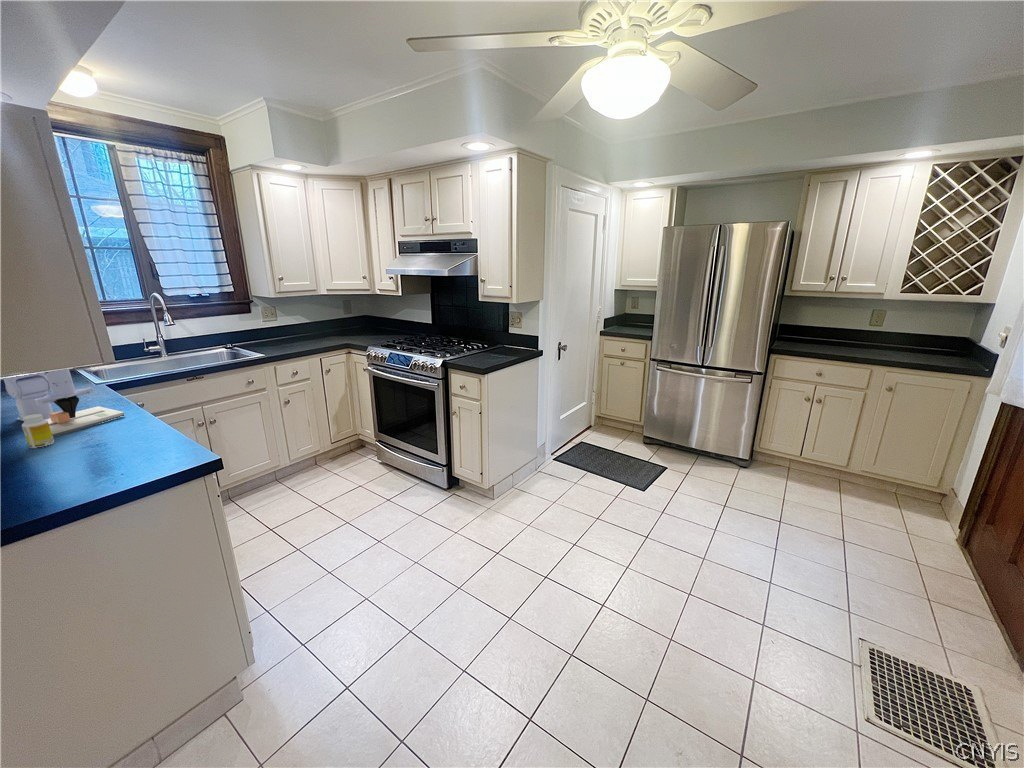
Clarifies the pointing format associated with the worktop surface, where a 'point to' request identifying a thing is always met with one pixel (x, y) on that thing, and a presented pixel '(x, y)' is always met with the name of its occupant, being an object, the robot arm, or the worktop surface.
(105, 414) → the white flat board
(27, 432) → the supplement bottle
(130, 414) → the worktop surface
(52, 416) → the switch
